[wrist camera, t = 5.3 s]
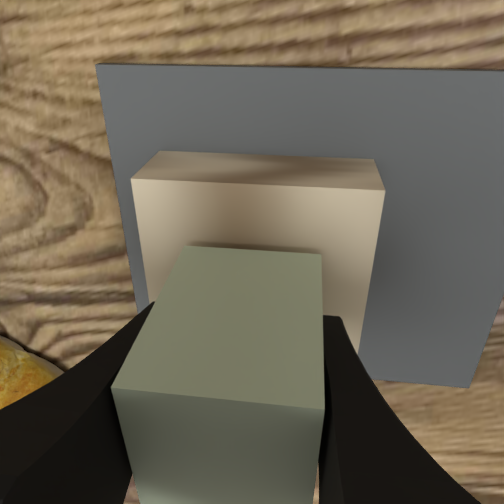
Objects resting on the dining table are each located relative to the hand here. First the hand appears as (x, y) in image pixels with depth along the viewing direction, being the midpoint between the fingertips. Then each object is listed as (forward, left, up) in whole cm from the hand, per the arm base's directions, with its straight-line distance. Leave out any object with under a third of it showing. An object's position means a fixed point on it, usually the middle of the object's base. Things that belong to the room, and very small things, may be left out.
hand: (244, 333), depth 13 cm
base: (0, 0, -5) cm, 5 cm away
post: (0, 0, -2) cm, 2 cm away
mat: (-2, 0, -6) cm, 6 cm away
